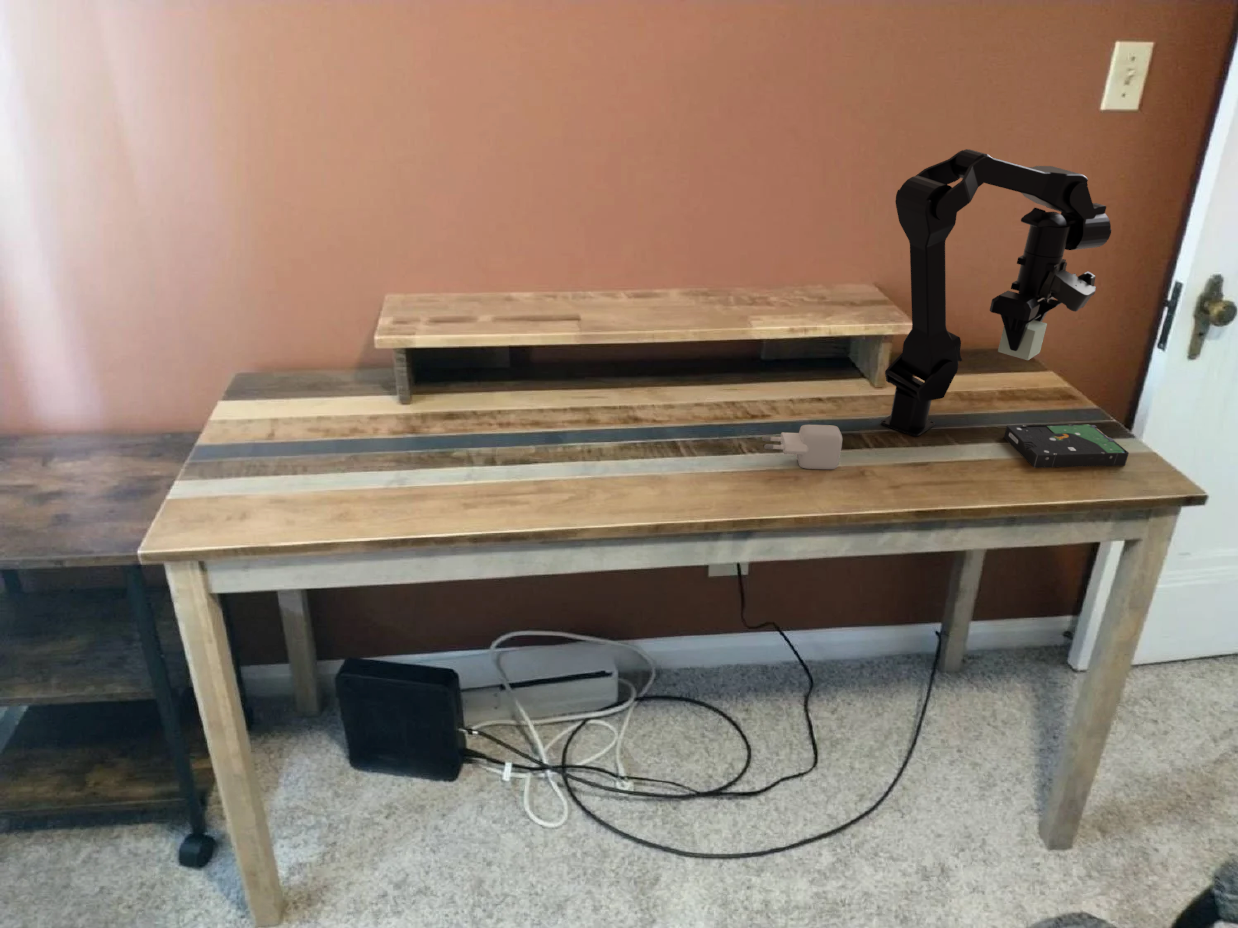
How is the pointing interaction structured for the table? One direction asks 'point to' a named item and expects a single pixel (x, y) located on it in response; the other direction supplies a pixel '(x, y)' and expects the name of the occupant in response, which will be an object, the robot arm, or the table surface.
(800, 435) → the power adapter
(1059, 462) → the disk drive
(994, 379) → the table surface
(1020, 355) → the sage block
